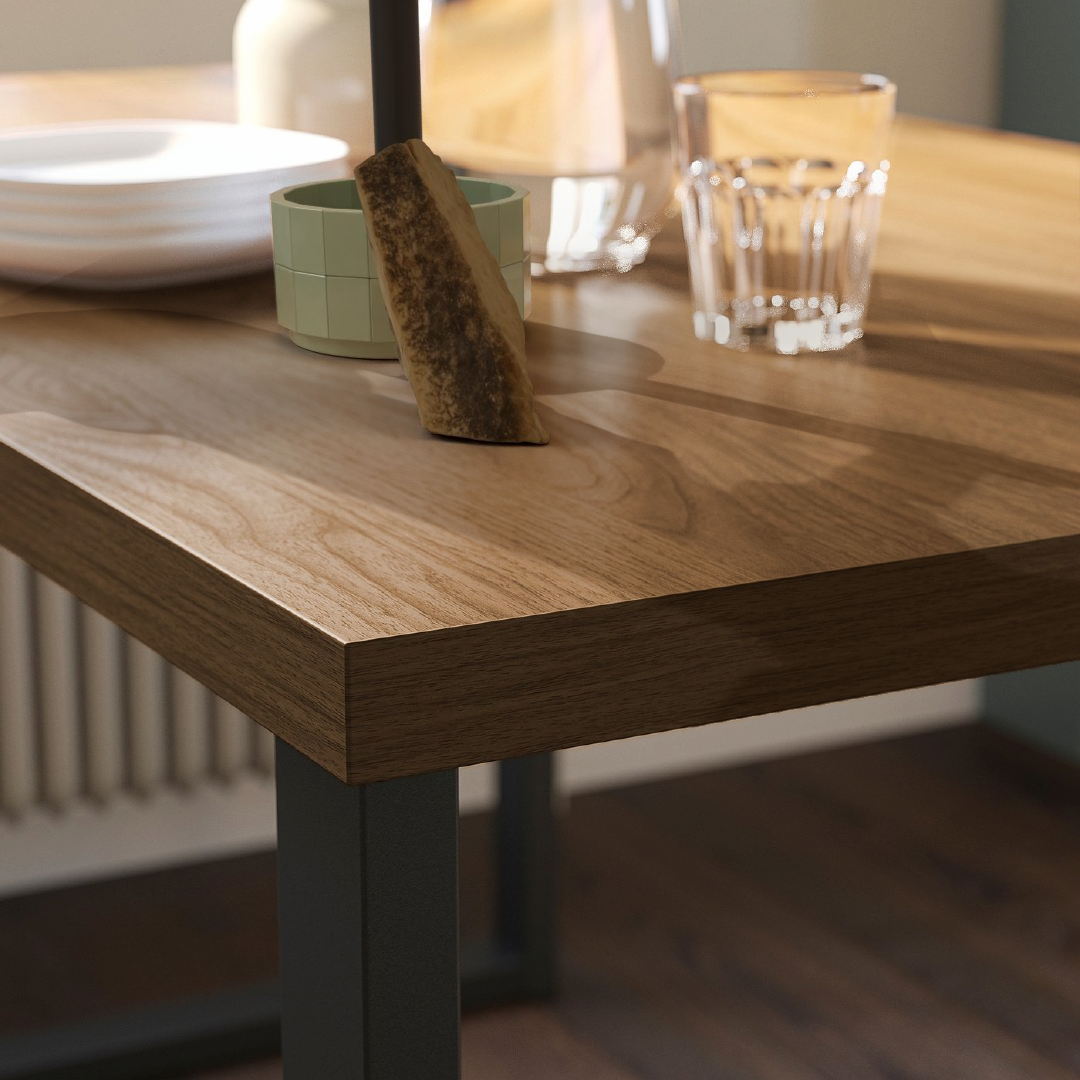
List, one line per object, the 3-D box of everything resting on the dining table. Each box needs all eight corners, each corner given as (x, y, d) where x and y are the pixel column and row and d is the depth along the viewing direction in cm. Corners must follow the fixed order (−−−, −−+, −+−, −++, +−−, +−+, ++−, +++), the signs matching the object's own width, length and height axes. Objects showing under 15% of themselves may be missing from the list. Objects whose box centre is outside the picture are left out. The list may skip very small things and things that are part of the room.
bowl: (243, 358, 71) (233, 210, 69) (318, 304, 81) (312, 173, 79) (504, 366, 70) (502, 214, 68) (548, 309, 80) (547, 176, 78)
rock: (341, 305, 70) (235, 323, 60) (469, 131, 67) (379, 121, 57) (547, 482, 69) (472, 529, 59) (685, 313, 66) (629, 334, 57)
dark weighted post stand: (338, 325, 73) (308, -308, 65) (365, 302, 78) (340, -294, 70) (445, 328, 73) (428, -312, 65) (467, 305, 77) (454, -297, 69)
